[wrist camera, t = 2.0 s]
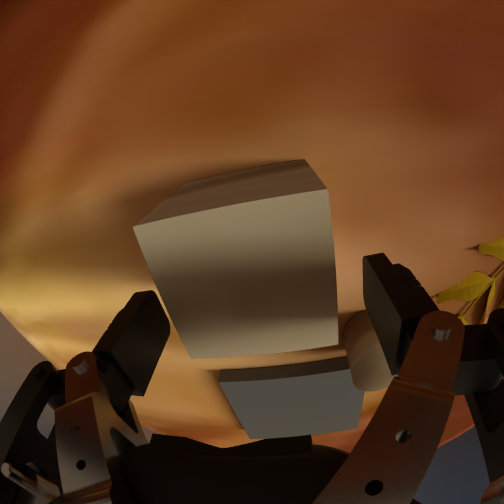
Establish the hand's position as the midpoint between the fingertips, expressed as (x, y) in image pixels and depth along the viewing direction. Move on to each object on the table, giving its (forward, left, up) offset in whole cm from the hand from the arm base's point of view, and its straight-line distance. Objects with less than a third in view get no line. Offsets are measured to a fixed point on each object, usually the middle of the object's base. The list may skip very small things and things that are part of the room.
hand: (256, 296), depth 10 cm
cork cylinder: (+8, +6, -5) cm, 11 cm away
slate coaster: (+16, 0, -5) cm, 17 cm away
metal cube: (-1, 0, -5) cm, 5 cm away
